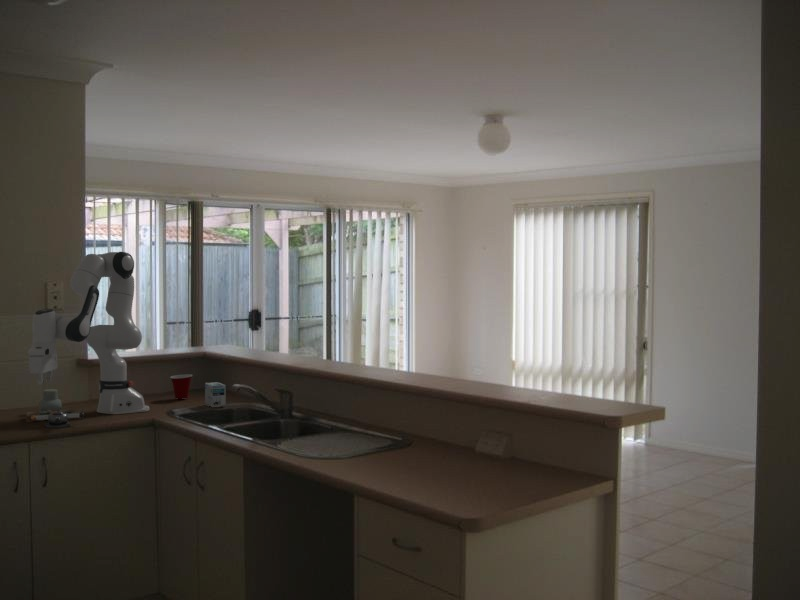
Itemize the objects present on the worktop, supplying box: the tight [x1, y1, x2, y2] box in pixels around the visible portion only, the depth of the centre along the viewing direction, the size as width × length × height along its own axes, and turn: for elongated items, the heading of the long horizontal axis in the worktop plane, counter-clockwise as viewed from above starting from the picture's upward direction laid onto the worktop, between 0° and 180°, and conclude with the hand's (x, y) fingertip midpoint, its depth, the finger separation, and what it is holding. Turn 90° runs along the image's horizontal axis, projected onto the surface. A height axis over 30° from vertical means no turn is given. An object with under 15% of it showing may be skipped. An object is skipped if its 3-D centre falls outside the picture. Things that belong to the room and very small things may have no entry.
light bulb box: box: [204, 381, 227, 406], centre depth 359 cm, size 11×7×11 cm, turn 34°
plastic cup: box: [169, 373, 193, 399], centre depth 377 cm, size 11×11×12 cm
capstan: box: [31, 410, 85, 425], centre depth 308 cm, size 20×20×5 cm
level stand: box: [25, 408, 85, 423], centre depth 324 cm, size 22×10×4 cm, turn 114°
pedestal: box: [45, 421, 71, 429], centre depth 308 cm, size 9×9×1 cm
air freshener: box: [38, 388, 63, 412], centre depth 337 cm, size 11×8×10 cm
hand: (44, 383), depth 309 cm, fingers open, 6 cm apart
